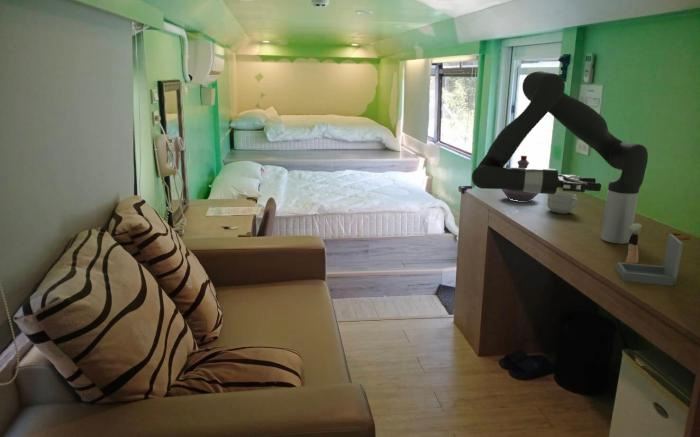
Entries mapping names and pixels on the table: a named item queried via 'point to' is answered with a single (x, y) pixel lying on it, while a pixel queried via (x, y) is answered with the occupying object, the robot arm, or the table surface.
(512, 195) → the flask
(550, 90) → the robot arm
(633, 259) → the grandmother figurine
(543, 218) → the table surface
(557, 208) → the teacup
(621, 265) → the case
